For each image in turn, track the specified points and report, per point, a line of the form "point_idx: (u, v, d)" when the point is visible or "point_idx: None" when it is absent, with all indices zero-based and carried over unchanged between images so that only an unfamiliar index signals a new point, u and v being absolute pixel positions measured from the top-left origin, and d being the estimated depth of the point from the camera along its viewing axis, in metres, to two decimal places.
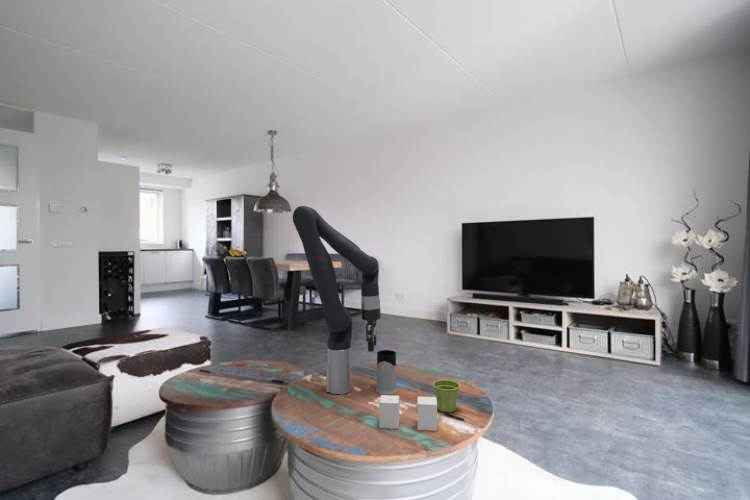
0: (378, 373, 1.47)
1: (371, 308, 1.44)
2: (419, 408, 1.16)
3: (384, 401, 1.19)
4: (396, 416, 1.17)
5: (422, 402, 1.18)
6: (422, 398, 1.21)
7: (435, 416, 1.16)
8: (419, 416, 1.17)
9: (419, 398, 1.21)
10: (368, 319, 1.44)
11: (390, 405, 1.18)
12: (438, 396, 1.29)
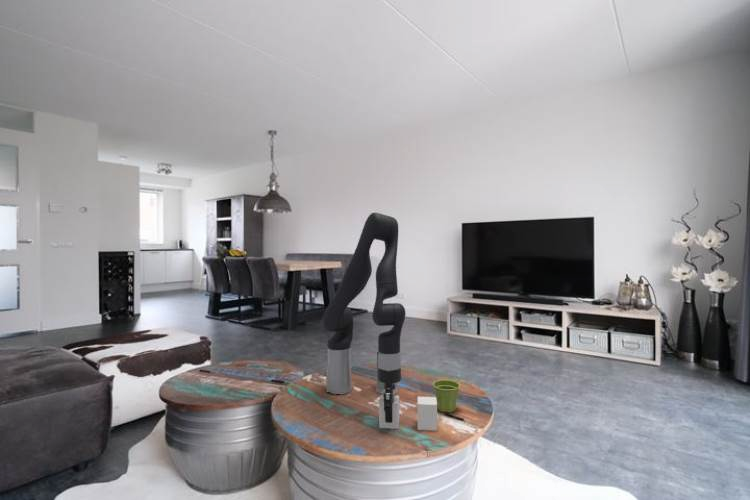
0: None
1: (390, 369, 1.17)
2: (419, 408, 1.16)
3: None
4: (396, 416, 1.17)
5: (422, 402, 1.18)
6: (422, 398, 1.21)
7: (435, 416, 1.16)
8: (419, 416, 1.17)
9: (419, 398, 1.21)
10: (386, 382, 1.17)
11: None
12: (438, 396, 1.29)
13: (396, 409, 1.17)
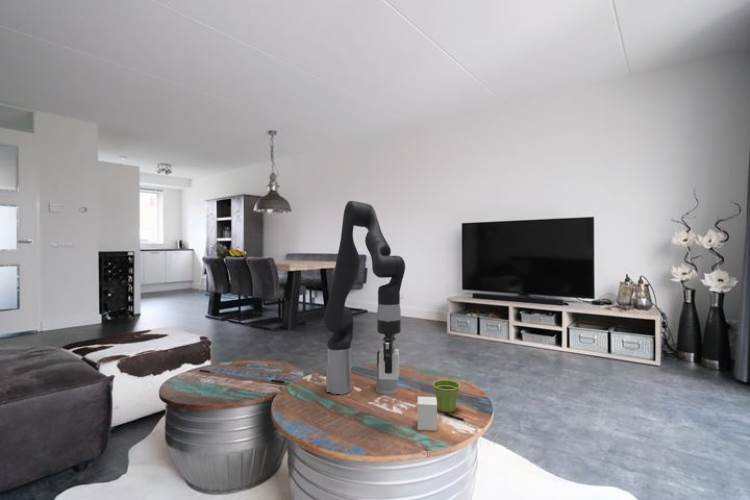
0: (378, 373, 1.47)
1: (390, 319, 1.17)
2: (419, 408, 1.16)
3: None
4: (396, 367, 1.17)
5: (422, 402, 1.18)
6: (422, 398, 1.21)
7: (435, 416, 1.16)
8: (419, 416, 1.17)
9: (419, 398, 1.21)
10: (386, 333, 1.17)
11: None
12: (438, 396, 1.29)
13: (396, 360, 1.17)
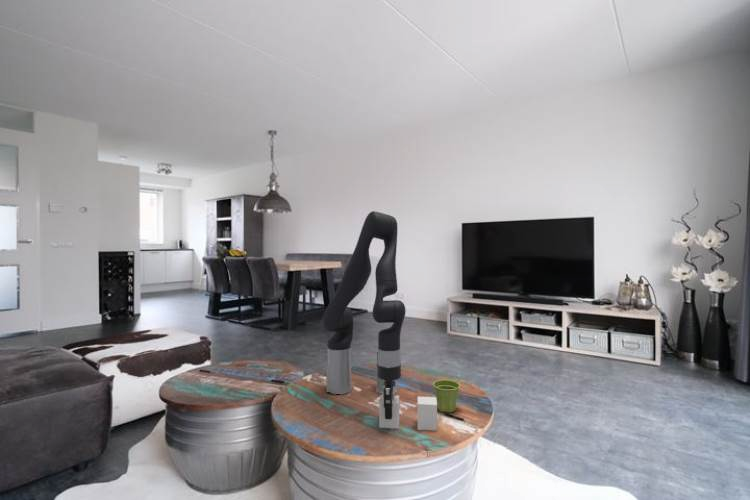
0: None
1: (390, 366, 1.17)
2: (419, 408, 1.16)
3: None
4: (396, 416, 1.17)
5: (422, 402, 1.18)
6: (422, 398, 1.21)
7: (435, 416, 1.16)
8: (419, 416, 1.17)
9: (419, 398, 1.21)
10: (386, 379, 1.17)
11: None
12: (438, 396, 1.29)
13: (396, 409, 1.17)
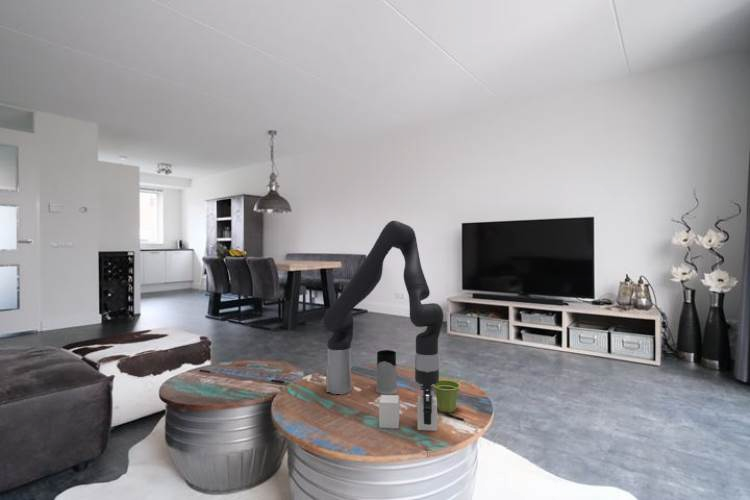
0: (378, 373, 1.47)
1: (429, 370, 1.15)
2: (419, 408, 1.16)
3: (384, 401, 1.19)
4: (396, 416, 1.17)
5: None
6: None
7: (435, 416, 1.16)
8: (419, 416, 1.17)
9: (419, 398, 1.21)
10: (425, 383, 1.15)
11: (390, 405, 1.18)
12: (438, 396, 1.29)
13: (396, 409, 1.17)
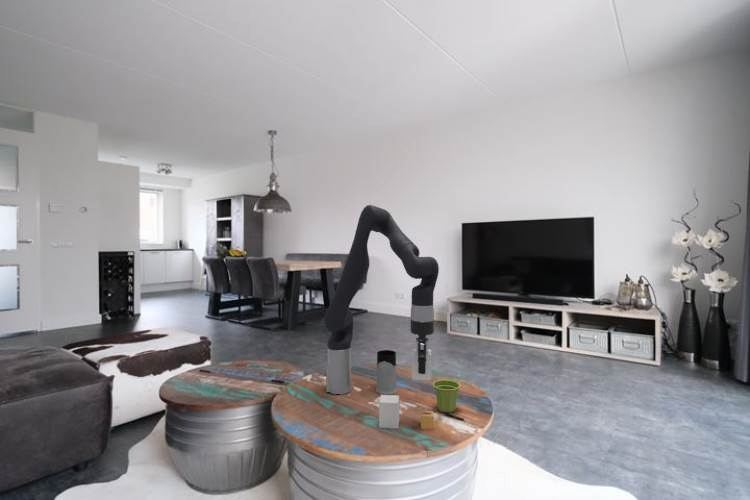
0: (378, 373, 1.47)
1: (424, 320, 1.17)
2: (414, 358, 1.19)
3: (384, 401, 1.19)
4: (396, 416, 1.17)
5: None
6: None
7: (429, 366, 1.18)
8: (414, 366, 1.19)
9: (414, 350, 1.23)
10: (420, 333, 1.18)
11: (390, 405, 1.18)
12: (438, 396, 1.29)
13: (396, 409, 1.17)
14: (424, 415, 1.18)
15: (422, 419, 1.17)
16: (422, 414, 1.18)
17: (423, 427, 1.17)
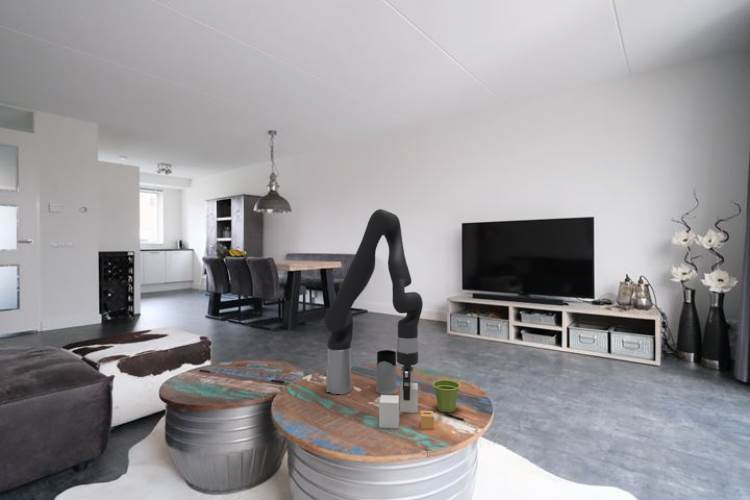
0: (378, 373, 1.47)
1: (409, 352, 1.28)
2: (401, 392, 1.29)
3: (384, 401, 1.19)
4: (396, 416, 1.17)
5: None
6: (405, 384, 1.34)
7: (416, 399, 1.29)
8: (401, 400, 1.29)
9: (402, 384, 1.34)
10: (405, 364, 1.28)
11: (390, 405, 1.18)
12: (438, 396, 1.29)
13: (396, 409, 1.17)
14: (424, 415, 1.18)
15: (422, 419, 1.17)
16: (422, 414, 1.18)
17: (423, 427, 1.17)
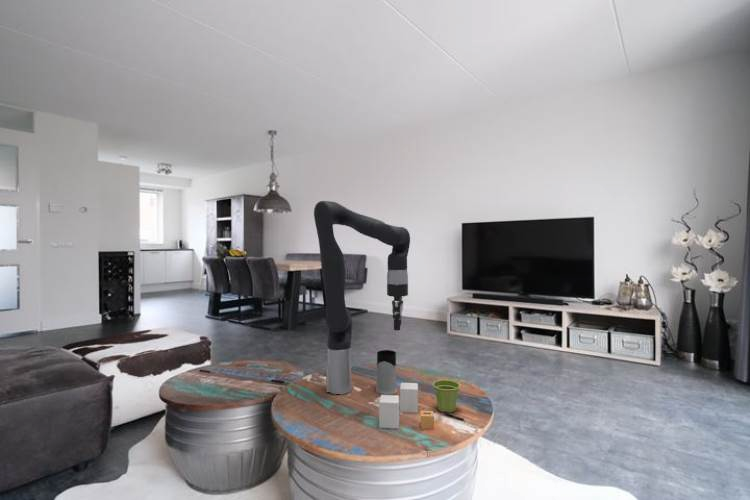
0: (378, 373, 1.47)
1: (399, 283, 1.30)
2: (401, 392, 1.29)
3: (384, 401, 1.19)
4: (396, 416, 1.17)
5: (405, 387, 1.31)
6: (405, 384, 1.34)
7: (416, 399, 1.29)
8: (401, 400, 1.29)
9: (402, 384, 1.34)
10: (395, 295, 1.30)
11: (390, 405, 1.18)
12: (438, 396, 1.29)
13: (396, 409, 1.17)
14: (424, 415, 1.18)
15: (422, 419, 1.17)
16: (422, 414, 1.18)
17: (423, 427, 1.17)
